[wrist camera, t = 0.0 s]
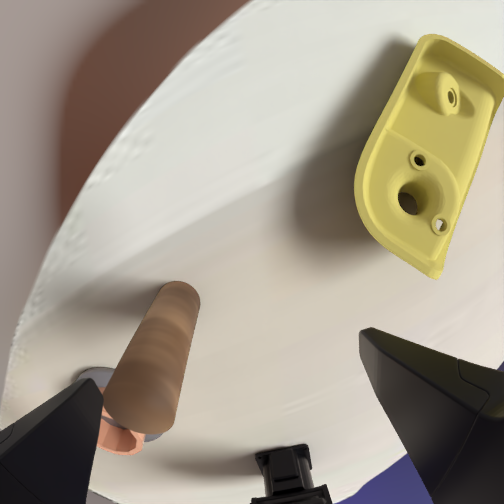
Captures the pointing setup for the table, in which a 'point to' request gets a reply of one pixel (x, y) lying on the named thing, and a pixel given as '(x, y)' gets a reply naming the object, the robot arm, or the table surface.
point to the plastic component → (427, 150)
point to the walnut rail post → (154, 363)
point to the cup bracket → (110, 431)
